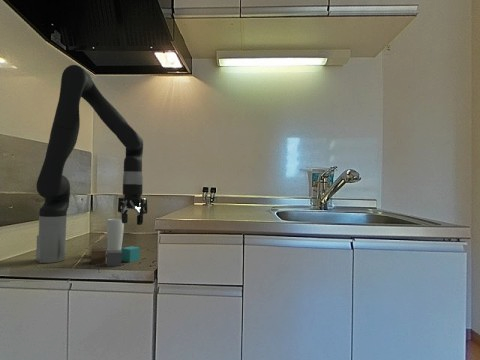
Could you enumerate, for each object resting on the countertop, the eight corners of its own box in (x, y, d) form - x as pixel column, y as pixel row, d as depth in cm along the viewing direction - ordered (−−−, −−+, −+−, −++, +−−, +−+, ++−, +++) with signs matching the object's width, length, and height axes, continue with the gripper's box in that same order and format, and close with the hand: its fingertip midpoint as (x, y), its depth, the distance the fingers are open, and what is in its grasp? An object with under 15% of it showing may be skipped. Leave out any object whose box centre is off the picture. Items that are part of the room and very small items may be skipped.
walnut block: (105, 263, 127) (105, 250, 127) (91, 264, 126) (91, 250, 126) (105, 260, 132) (106, 247, 132) (91, 261, 130) (92, 248, 130)
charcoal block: (120, 266, 124) (121, 252, 124) (106, 266, 123) (106, 253, 123) (120, 262, 129) (121, 249, 129) (106, 263, 127) (107, 250, 127)
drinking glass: (104, 256, 138) (105, 220, 138) (107, 253, 145) (108, 218, 145) (122, 256, 140) (123, 220, 140) (123, 253, 146) (124, 218, 146)
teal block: (129, 262, 130) (130, 249, 130) (121, 260, 133) (121, 248, 133) (139, 260, 134) (140, 247, 134) (131, 258, 137) (131, 246, 137)
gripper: (112, 183, 134) (112, 223, 134) (138, 183, 127) (137, 226, 127) (127, 183, 141) (127, 221, 140) (152, 183, 133) (152, 224, 133)
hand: (132, 223), depth 134 cm, fingers open, 8 cm apart
